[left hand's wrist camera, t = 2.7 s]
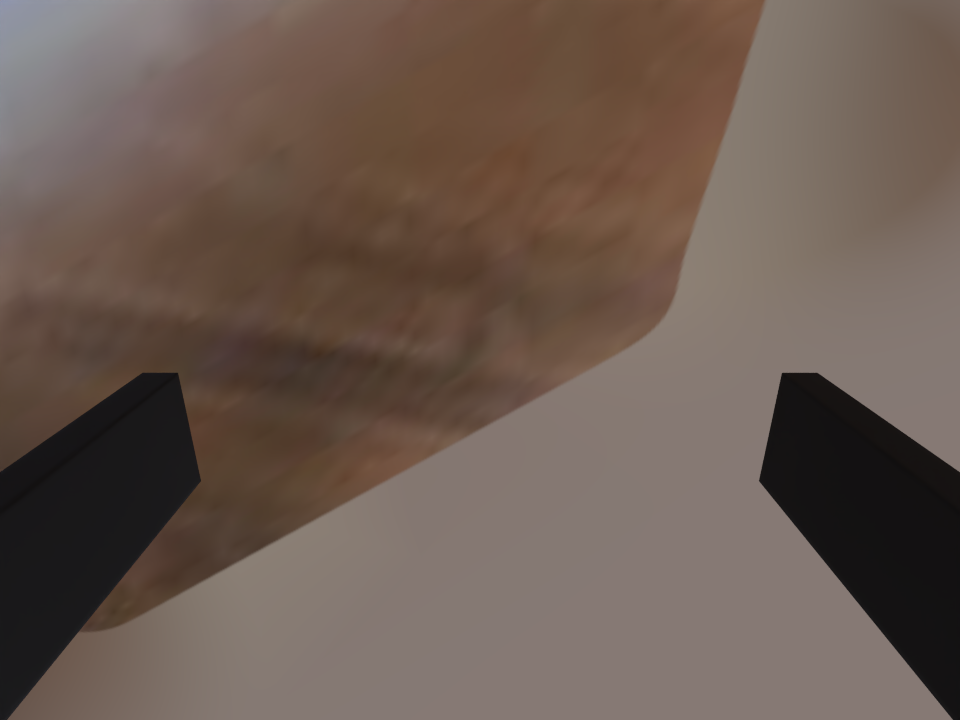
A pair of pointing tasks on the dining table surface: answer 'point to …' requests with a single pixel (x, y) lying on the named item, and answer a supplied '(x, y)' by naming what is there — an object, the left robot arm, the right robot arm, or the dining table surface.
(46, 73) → the dining table surface
